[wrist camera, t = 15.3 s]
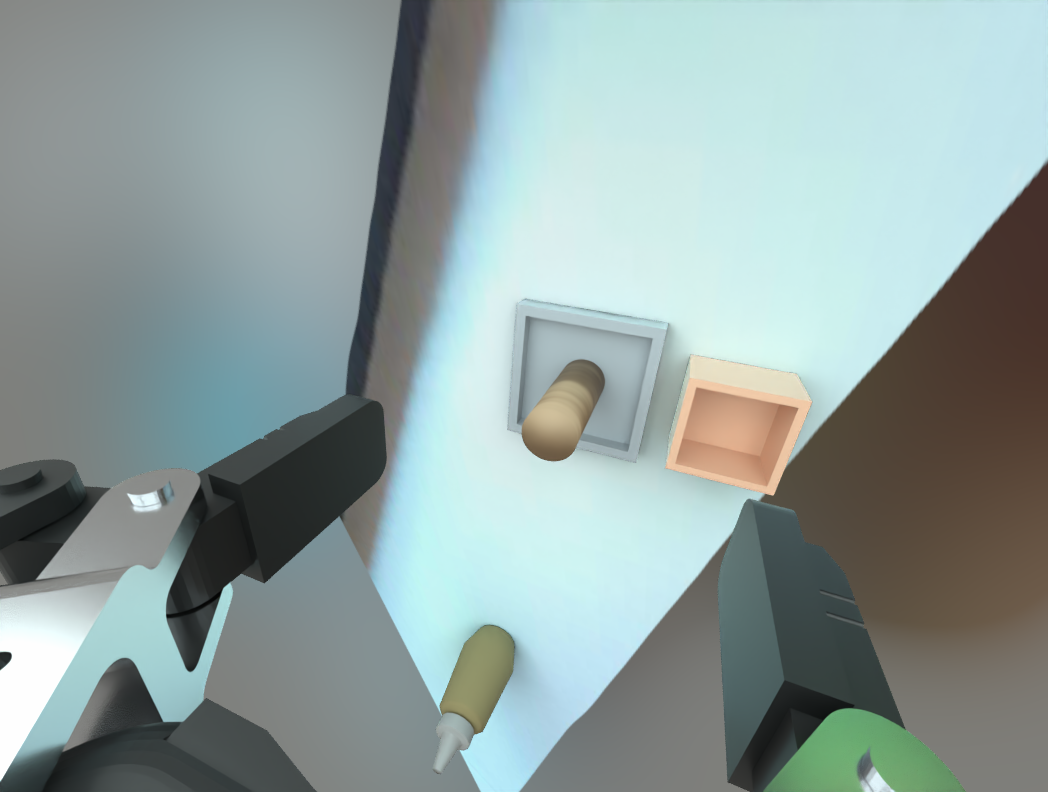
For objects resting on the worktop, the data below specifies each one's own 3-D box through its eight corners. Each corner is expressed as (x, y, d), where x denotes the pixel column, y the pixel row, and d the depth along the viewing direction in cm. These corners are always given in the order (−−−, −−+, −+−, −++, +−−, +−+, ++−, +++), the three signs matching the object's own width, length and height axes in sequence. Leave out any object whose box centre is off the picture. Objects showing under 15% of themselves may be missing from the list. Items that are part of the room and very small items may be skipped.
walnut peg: (564, 355, 44) (524, 404, 34) (608, 364, 43) (580, 417, 33) (558, 395, 46) (519, 453, 36) (601, 405, 45) (572, 467, 35)
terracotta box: (690, 354, 41) (689, 377, 36) (796, 374, 39) (812, 401, 33) (668, 436, 45) (665, 468, 40) (764, 459, 42) (773, 495, 37)
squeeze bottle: (524, 631, 64) (470, 769, 49) (519, 665, 68) (466, 803, 53) (474, 610, 66) (406, 736, 51) (471, 645, 70) (407, 772, 55)
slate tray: (524, 298, 44) (516, 303, 42) (668, 323, 40) (666, 329, 38) (514, 420, 50) (507, 429, 48) (638, 451, 47) (636, 462, 45)
